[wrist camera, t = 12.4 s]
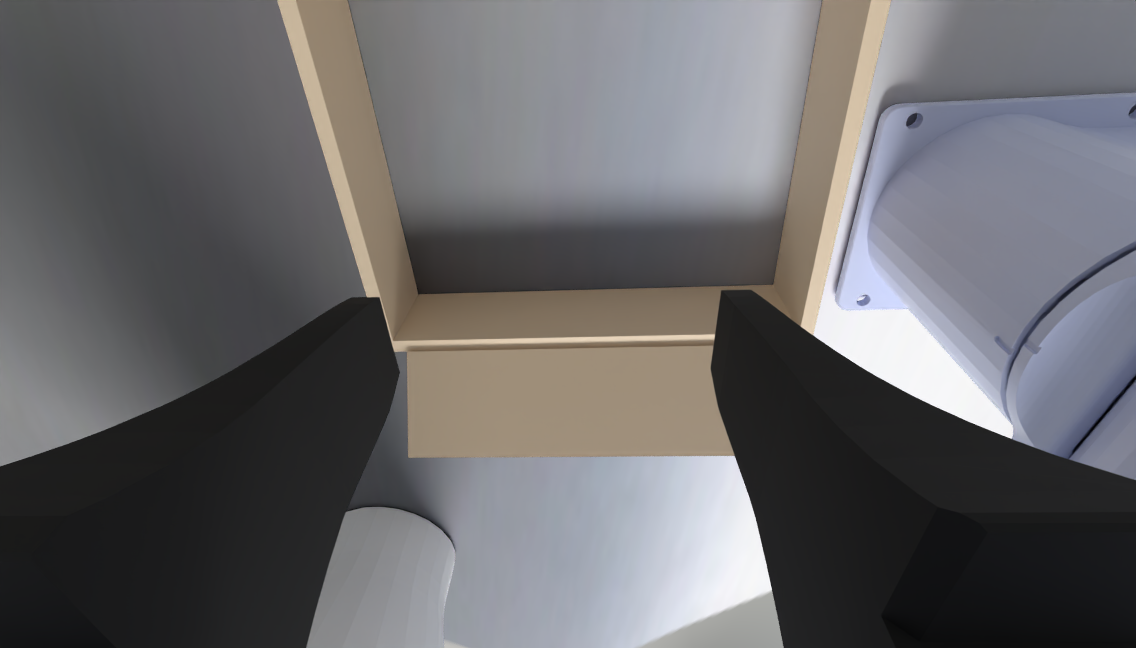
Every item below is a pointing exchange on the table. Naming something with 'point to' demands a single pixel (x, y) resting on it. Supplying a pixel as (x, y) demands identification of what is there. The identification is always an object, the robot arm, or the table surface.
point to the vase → (384, 583)
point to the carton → (574, 317)
